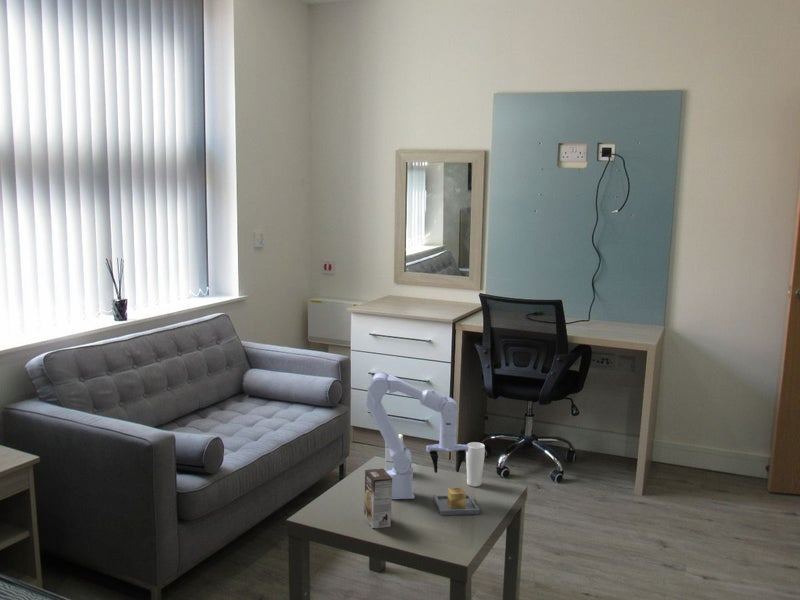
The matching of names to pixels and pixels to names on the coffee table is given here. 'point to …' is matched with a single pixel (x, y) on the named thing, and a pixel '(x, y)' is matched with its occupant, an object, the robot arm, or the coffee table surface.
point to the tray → (446, 510)
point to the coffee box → (378, 498)
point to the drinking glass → (475, 463)
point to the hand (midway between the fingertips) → (446, 471)
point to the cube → (456, 497)
